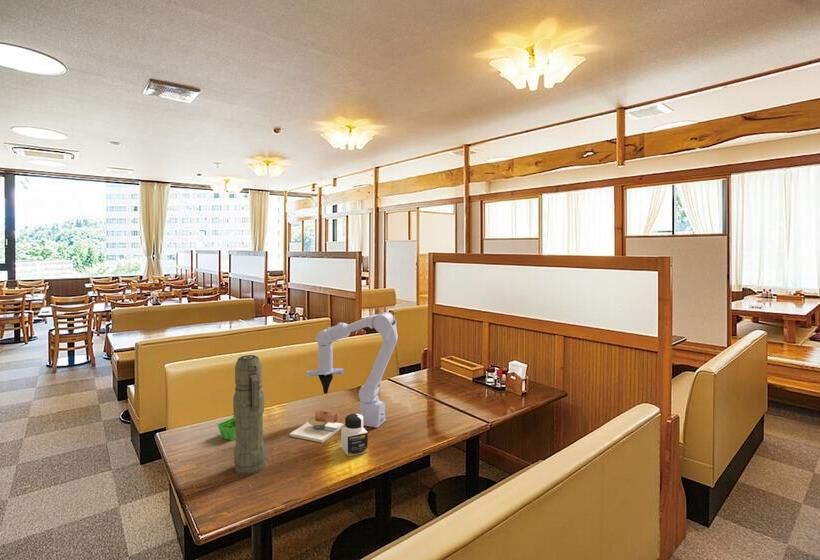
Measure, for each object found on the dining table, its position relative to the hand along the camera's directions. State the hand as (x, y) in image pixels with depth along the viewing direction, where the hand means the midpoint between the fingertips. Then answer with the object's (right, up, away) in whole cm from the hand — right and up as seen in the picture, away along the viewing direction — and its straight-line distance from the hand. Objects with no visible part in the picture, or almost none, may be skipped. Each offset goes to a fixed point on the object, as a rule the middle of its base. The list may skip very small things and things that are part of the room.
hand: (325, 392), depth 171 cm
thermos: (-16, -13, -39) cm, 44 cm away
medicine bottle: (+15, -13, -26) cm, 33 cm away
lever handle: (+1, -8, -11) cm, 14 cm away
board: (-1, -11, -12) cm, 16 cm away
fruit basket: (-29, -12, -16) cm, 35 cm away
